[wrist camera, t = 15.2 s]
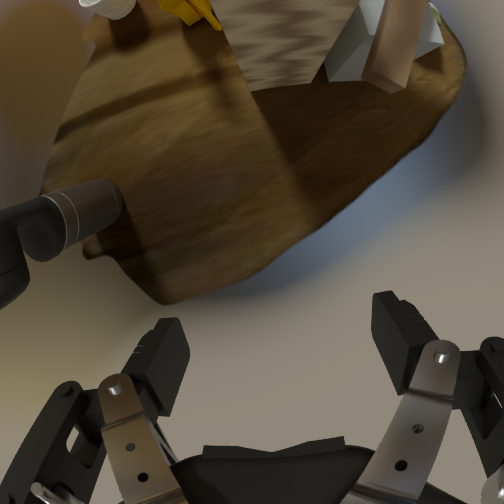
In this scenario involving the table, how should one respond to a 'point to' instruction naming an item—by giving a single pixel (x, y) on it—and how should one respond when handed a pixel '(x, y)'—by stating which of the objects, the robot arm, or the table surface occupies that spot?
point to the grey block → (360, 40)
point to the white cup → (110, 7)
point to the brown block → (394, 44)
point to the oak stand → (281, 37)
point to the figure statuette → (190, 11)
